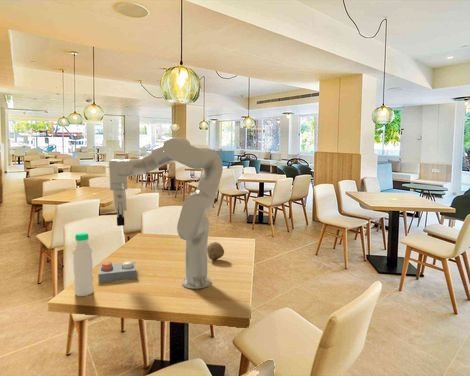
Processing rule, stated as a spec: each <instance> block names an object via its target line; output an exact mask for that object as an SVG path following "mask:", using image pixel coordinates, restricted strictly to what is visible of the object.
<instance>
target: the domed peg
mask: <svg viewBox="0 0 470 376" xmlns="http://www.w3.org/2000/svg"><path fill="white" fill-rule="evenodd" d="M132 262H133V261H124V262H122V263H123V269H127V268H133V263H132Z"/></svg>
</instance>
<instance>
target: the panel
mask: <svg viewBox="0 0 470 376" xmlns="http://www.w3.org/2000/svg"><path fill="white" fill-rule="evenodd" d="M131 262H132V263H133V268H127V269H123V263H124V262H115V263H112V270H107V271H102V264H100V265H98V266H99V267H98V273H97V275H98V276H97V278H98V280H97V281H98V283H99V284H101V283H111V282H119V281H127V280H137V267H136V261H131Z"/></svg>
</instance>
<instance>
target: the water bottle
mask: <svg viewBox="0 0 470 376" xmlns="http://www.w3.org/2000/svg"><path fill="white" fill-rule="evenodd" d="M74 239H75V241H76V244H75V246H74V249H73V250H72V255H73V261H72V262H73V263H72V264H73V275H74V277H73V278H74V280H73V282H74V295H75V296H78V297H86V296H89V295H91V294H92V293H93V292H94V276H93V273H94V272H93V271H94V269H93V266H94V265H93V255H92V253H93V249H92V247H91V246H90V244H89V242H88V240H89V233H88V232H78V233H76V234H75V237H74Z"/></svg>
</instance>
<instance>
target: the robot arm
mask: <svg viewBox="0 0 470 376" xmlns="http://www.w3.org/2000/svg"><path fill="white" fill-rule="evenodd" d="M172 162H177V163H179V164H180V165H181V164H182V165H184V166H185V167H188V168H189V169H194V170H200V169H201V170H202V169H203V170H202V173H201V176H200V177H199V181H198V184H197V187H196V190H195V191H194V192H192V193H190V194H188V196H187V197H185V199H184V201H183V204H182V207H181V210H180V213H179V216H178V217H179V218H178V221H177V226H176V231H177V234H178V237H180V239H181V240H184V241H185V277H184V278H183V279H182V280H181V282H182V283H181V284H182V286H183V287H184V288H186V289H191V290H200V289H204V288H207V287H209V286H210V285H211V283H212V281H211V278H210V277H208V252H207V249H208V245H209V241H208V240H209V233H210V220H209V218H208V217H207V215H205V213H208V212H209V211H210V210H211V209H212V208H213V206H214V203H215V199H216V196H217V193H218V190H219V187H220V186H219V185H220V184H221V183H220V182H221V180H222V176H223V169H224V168H223V161H222V158H221V157H220V155H219V154H218V153H217V152H216V151H215V150H213V149H211V148H208V147H196V146H193V145H192V144H191V142H190V141H189V140H188V139H187V138H184V137H181V136H172V137H167V138H166V139H165V140H164V142H163V143H162V144H160V145H157V146H155V147H154V148H152V150H151V153H149V154H148V155H145V156H143V157H139V158H129V159H128V158H127V159H121V158H120V159H110V160H109V162H108V169H109V170H108V171H109V189H110V191H112V193H113V196H112V197H113V203H114V204H113V205H114V210H115V212H116V225H117V227H120V226H121V227H122V226H125V215H124V211H125V212H127V210H128V209H127V208H128V207H127V194H126V190H128V177H133V176H134V177H135V176H141V175H144V174H147V173H150V172H152V171H155V170H157V169H159V168H160V167H162V166H165V165H168V164H170V163H172Z"/></svg>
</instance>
